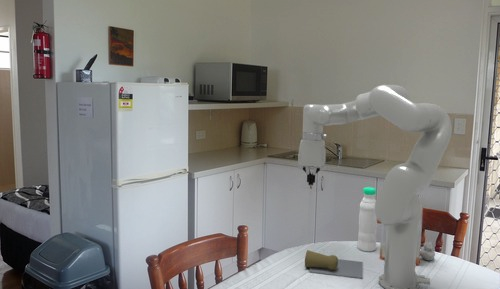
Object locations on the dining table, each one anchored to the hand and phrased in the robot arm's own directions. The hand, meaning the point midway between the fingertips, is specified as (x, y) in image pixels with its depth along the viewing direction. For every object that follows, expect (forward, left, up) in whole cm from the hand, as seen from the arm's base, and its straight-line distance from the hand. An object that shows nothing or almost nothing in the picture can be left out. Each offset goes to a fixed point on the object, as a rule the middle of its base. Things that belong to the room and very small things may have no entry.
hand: (310, 184), depth 164 cm
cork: (-1, +14, -24) cm, 28 cm away
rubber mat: (-12, +12, -27) cm, 32 cm away
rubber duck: (-44, -6, -27) cm, 52 cm away
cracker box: (-34, -2, -27) cm, 44 cm away
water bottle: (-22, -10, -27) cm, 36 cm away
